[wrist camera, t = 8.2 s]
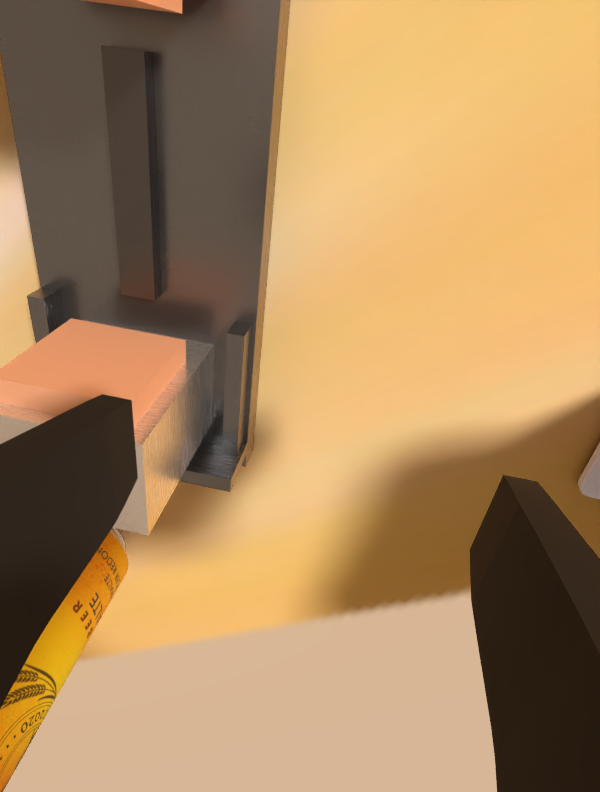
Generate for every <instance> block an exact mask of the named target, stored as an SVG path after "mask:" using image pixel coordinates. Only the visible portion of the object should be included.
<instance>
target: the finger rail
mask: <svg viewBox="0 0 600 792" xmlns="http://www.w3.org/2000/svg"><path fill="white" fill-rule="evenodd" d="M289 10H290V0H0V53H1V59H2V65H3V71H4V76H5V82H6V88H7V94H8V100H9V105H10V111H11V117H12V123H13V129H14V134H15V140H16V146H17V152H18V158H19V164H20V169H21V175H22V181H23V187H24V193H25V198H26V204H27V210H28V216H29V222H30V227H31V233H32V239H33V245H34V251H35V256H36V262H37V268H38V274H39V280H40V286H41V288H40V289H38V290H36V291H35V292H33V293H31V294H29V295H28V296H27V298H28V304H29V309H30V314H31V320H32V325H33V330H34V335H35V341H36V343H37V342H39V341H40V340H42V339H43V338H44V337H46V336H47V335H49V334H50V333H51V332H53V331H54V330H56V329H57V328H58V327H60V326H61V325H63V324H64V323H65V322H67V321H68V320H70V319H71V318H72V319H77V320H88V321H93V322H98V323H104V324H109V325H114V326H119V327H125V328H130V329H135V330H141V331H146V332H151V333H156V334H162V335H167V336H172V337H178V338H183V339H188V340H194V341H199V342H204V343H209V344H214V376H213V414H212V424H211V426H210V427H209V429H208V431H207V433H206V434H205V436H204V438H203V440H202V442H201V443H200V445H199V447H198V449H197V450H196V452H195V454H194V456H193V458H192V459H191V461H190V463H189V465H188V466H187V468H186V470H185V472H184V474H183V475H182V477H181V479H180V481H182V482H186V483H191V484H196V485H200V486H205V487H210V488H214V489H219V490H224V491H228V492H230V491H231V489H232V487H233V484H234V482H235V480H236V477H237V475H238V473H239V470H240V468H241V466H245V467H246V464H247V462H248V459H249V457H250V455H251V452H252V450H253V440H254V428H255V417H256V405H257V393H258V381H259V369H260V357H261V345H262V333H263V321H264V309H265V297H266V285H267V273H268V261H269V249H270V237H271V225H272V213H273V201H274V189H275V177H276V165H277V153H278V141H279V129H280V117H281V105H282V93H283V81H284V70H285V58H286V46H287V34H288V22H289Z"/></svg>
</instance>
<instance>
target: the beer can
mask: <svg viewBox="0 0 600 792" xmlns="http://www.w3.org/2000/svg"><path fill="white" fill-rule="evenodd" d="M127 569H128V559H127V555H126V547H125V542H124V540H123V537H122V535H121V534H120V532H119V531H118V529H116V528H112V529H111V531H110V532H109V534H108V535H107V537H106V538H105V540H104V541H103V543H102V544H101V546H100V547H99V549H98V550H97V552H96V553H95V555H94V556H93V558H92V559H91V561H90V562H89V564H88V565H87V567H86V568H85V569H84V571H83V572H82V574H81V575H80V577H79V578H78V580H77V581H76V583H75V584H74V586H73V587H72V589H71V590H70V592H69V593H68V595H67V596H66V598H65V599H64V600H63V602H62V603H61V605H60V606H59V608H58V609H57V611H56V612H55V614H54V615H53V617H52V618H51V620H50V621H49V623H48V625H47V626H46V628H45V629H44V631H43V633H42V634H41V636H40V637H39V639H38V641H37V642H36V644H35V646H34V647H33V649H32V651H31V653H30V655H29V657H28V658H27V660H26V662H25V664H24V666H23V668H22V669H21V671H20V673H19V675H18V677H17V679H16V680H15V682H14V684H13V686H12V688H11V690H10V691H9V693H8V695H7V697H6V699H5V701H4V703H3V705H2V707H1V709H0V792H3V790H4V789H5V787H6V785H7V783H8V781H9V779H10V778H11V776H12V774H13V773H14V771H15V769H16V767H17V766H18V764H19V762H20V760H21V759H22V757H23V755H24V753H25V751H26V749H27V748H28V746H29V744H30V743H31V741H32V739H33V737H34V735H35V734H36V732H37V730H38V728H39V726H40V725H41V723H42V721H43V719H44V718H45V716H46V714H47V712H48V711H49V709H50V707H51V705H52V704H53V702H54V700H55V698H56V696H57V695H58V693H59V691H60V689H61V688H62V686H63V684H64V682H65V681H66V679H67V677H68V675H69V674H70V672H71V670H72V668H73V666H74V665H75V663H76V661H77V659H78V658H79V656H80V654H81V652H82V651H83V649H84V647H85V645H86V643H87V642H88V640H89V638H90V636H91V635H92V633H93V631H94V629H95V627H96V626H97V624H98V622H99V620H100V619H101V617H102V615H103V613H104V612H105V610H106V608H107V606H108V604H109V603H110V601H111V599H112V597H113V596H114V594H115V592H116V590H117V589H118V587H119V585H120V583H121V581H122V580H123V578H124V576H125V574H126V572H127Z"/></svg>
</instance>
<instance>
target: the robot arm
mask: <svg viewBox="0 0 600 792" xmlns="http://www.w3.org/2000/svg"><path fill="white" fill-rule="evenodd" d="M137 479H138V474H137V461H136V449H135V436H134V423H133V411H132V400H129V399H124V398H119V397H114V396H109V395H104V394H102V395H100V396H97V397H95V398H93V399H90V400H88V401H86V402H84V403H82V404H80V405H78V406H76V407H74V408H72V409H70V410H68V411H66V412H64V413H62V414H60V415H58V416H56V417H54V418H52V419H50V420H48V421H46V422H44V423H42V424H40V425H38V426H36V427H34V428H32V429H30V430H28V431H26V432H24V433H22V434H20V435H18V436H16V437H14V438H12V439H10V440H8V441H6V442H4V443H2V444H0V709H1V707H2V705H3V703H4V701H5V699H6V697H7V695H8V693H9V691H10V690H11V688H12V686H13V684H14V682H15V680H16V679H17V677H18V675H19V673H20V671H21V669H22V668H23V666H24V664H25V662H26V660H27V658H28V657H29V655H30V653H31V651H32V649H33V647H34V646H35V644H36V642H37V641H38V639H39V637H40V636H41V634H42V633H43V631H44V629H45V628H46V626H47V625H48V623H49V621H50V620H51V618H52V617H53V615H54V614H55V612H56V611H57V609H58V608H59V606H60V605H61V603H62V602H63V600H64V599H65V598H66V596H67V595H68V593H69V592H70V590H71V589H72V587H73V586H74V584H75V583H76V581H77V580H78V578H79V577H80V575H81V574H82V572H83V571H84V569H85V568H86V567H87V565H88V564H89V562H90V561H91V559H92V558H93V556H94V555H95V553H96V552H97V550H98V549H99V547H100V546H101V544H102V543H103V541H104V540H105V538H106V537H107V535H108V534H109V532H110V531H111V529H112V527H113V526H114V524H115V523H116V521H117V519H118V517H119V515H120V513H121V512H122V510H123V508H124V506H125V504H126V502H127V500H128V498H129V496H130V493H131V491H132V489H133V487H134V485H135V483H136V481H137ZM578 487H579V489H580V491H581V493H582V494H583V495H585V496H587V497H591V498H596V499H600V442H599V444H598V446H597V448H596V450H595V451H594V453H593V455H592V457H591V459H590V460H589V462H588V464H587V466H586V467H585V469H584V471H583V473H582V475H581V476H580V478H579V480H578ZM470 574H471V600H472V607H473V615H474V621H475V628H476V634H477V641H478V646H479V653H480V660H481V666H482V672H483V678H484V684H485V691H486V696H487V703H488V709H489V715H490V722H491V728H492V737H493V744H494V753H495V764H496V780H497V792H600V559H599V557H598V556H597V555H596V554H595V552H594V551H593V550H592V549H591V548H590V546H589V545H588V544H587V543H586V541H585V540H584V539H583V538H582V536H581V535H580V534H579V533H578V531H577V530H576V529H575V528H574V526H573V525H572V524H571V523H570V521H569V520H568V519H567V518H566V516H565V515H564V514H563V513H562V511H561V510H560V509H559V507H558V506H557V505H556V504H555V502H554V501H553V500H552V499H551V498H550V496H549V495H548V494H547V493H546V491H545V490H544V489H543V488H542V487H541V486H540V484H539V483H538V482H535V481H530V480H526V479H521V478H516V477H511V476H506V475H503V477H502V479H501V482H500V484H499V486H498V488H497V491H496V493H495V495H494V497H493V500H492V502H491V504H490V506H489V508H488V511H487V513H486V515H485V517H484V520H483V522H482V524H481V526H480V529H479V531H478V533H477V535H476V537H475V540H474V542H473V544H472V546H471V549H470Z"/></svg>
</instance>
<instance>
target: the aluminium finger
mask: <svg viewBox="0 0 600 792" xmlns="http://www.w3.org/2000/svg"><path fill="white" fill-rule="evenodd" d="M213 376H214V344H209V343H204V342H199V341H194V340H188V339H183V338H178V337H172V336H167V335H162V334H156V333H151V332H146V331H141V330H135V329H130V328H125V327H119V326H114V325H109V324H104V323H98V322H93V321H88V320H77V319H72V318H71V319H70V320H68V321H67V322H65V323H64V324H63V325H61V326H60V327H58V328H57V329H56V330H54V331H53V332H51V333H50V334H49V335H47V336H46V337H44V338H43V339H42V340H40V341H39V342H37V343H36V344H35V345H33V346H32V347H30V348H29V349H28V350H26V351H25V352H23V353H22V354H21V355H19V356H18V357H16V358H15V359H14V360H12V361H11V362H9V363H8V364H7V365H5V366H4V367H3V368H1V369H0V444H2V443H4V442H6V441H8V440H10V439H12V438H14V437H16V436H18V435H20V434H22V433H24V432H26V431H28V430H30V429H32V428H34V427H36V426H38V425H40V424H42V423H44V422H46V421H48V420H50V419H52V418H54V417H56V416H58V415H60V414H62V413H64V412H66V411H68V410H70V409H72V408H74V407H76V406H78V405H80V404H82V403H84V402H86V401H88V400H90V399H93V398H95V397H97V396H100V395H102V394H104V395H109V396H114V397H119V398H124V399H129V400H132V411H133V423H134V436H135V449H136V461H137V474H138V479H137V481H136V483H135V485H134V487H133V489H132V491H131V493H130V496H129V498H128V500H127V502H126V504H125V506H124V508H123V510H122V512H121V513H120V515H119V517H118V519H117V521H116V523H115V524H114V526H113V527H112V528H116V529H120V530H125V531H129V532H134V533H138V534H143V535H147V536H149V534H150V532H151V530H152V529H153V527H154V525H155V523H156V522H157V520H158V518H159V516H160V514H161V513H162V511H163V509H164V507H165V506H166V504H167V502H168V500H169V498H170V497H171V495H172V493H173V491H174V490H175V488H176V486H177V484H178V482H179V481H180V479H181V477H182V475H183V474H184V472H185V470H186V468H187V466H188V465H189V463H190V461H191V459H192V458H193V456H194V454H195V452H196V450H197V449H198V447H199V445H200V443H201V442H202V440H203V438H204V436H205V434H206V433H207V431H208V429H209V427H210V426H211V424H212V414H213Z"/></svg>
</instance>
